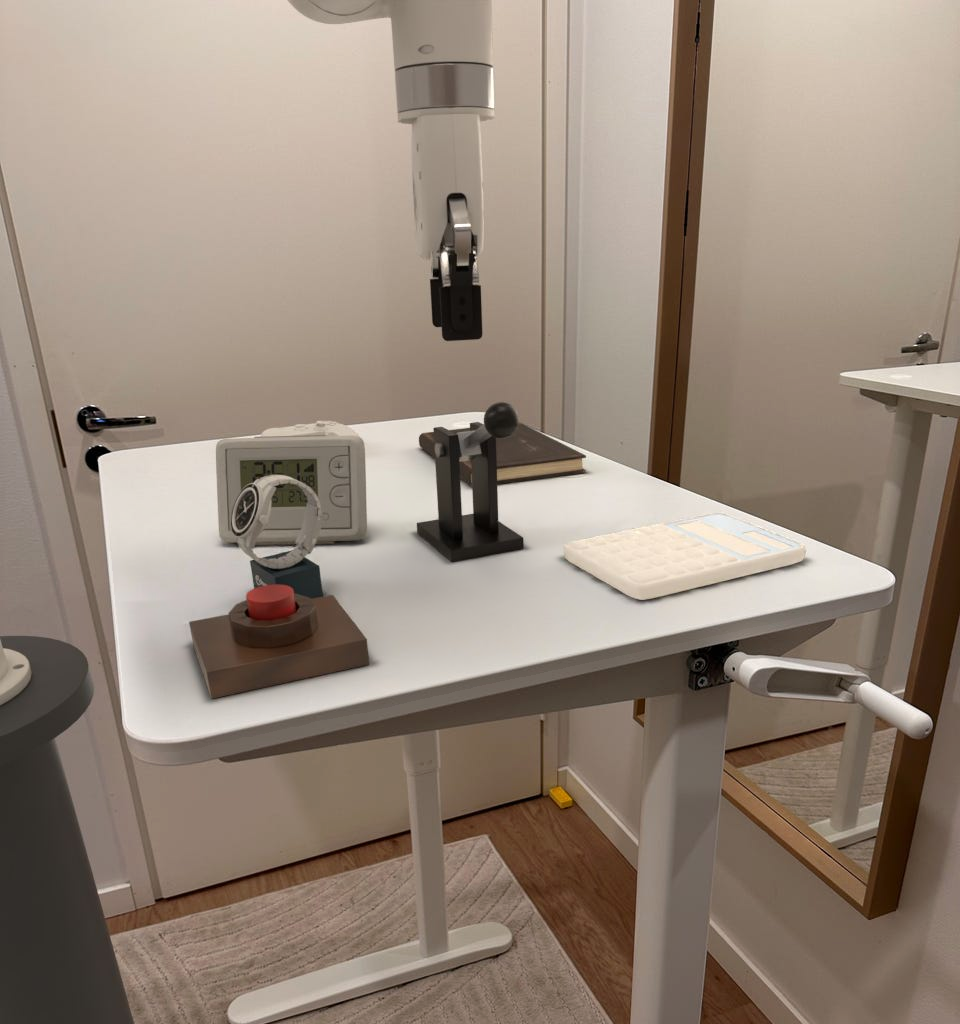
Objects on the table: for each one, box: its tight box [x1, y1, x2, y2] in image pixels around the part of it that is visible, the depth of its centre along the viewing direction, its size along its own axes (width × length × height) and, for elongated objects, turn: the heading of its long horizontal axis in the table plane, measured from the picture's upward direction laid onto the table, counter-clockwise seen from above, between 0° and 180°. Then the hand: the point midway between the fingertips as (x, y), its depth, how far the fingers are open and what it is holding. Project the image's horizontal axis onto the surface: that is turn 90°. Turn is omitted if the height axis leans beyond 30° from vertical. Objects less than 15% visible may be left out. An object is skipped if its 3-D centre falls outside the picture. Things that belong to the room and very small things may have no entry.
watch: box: [231, 475, 324, 599], centre depth 81 cm, size 6×8×11 cm
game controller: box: [260, 420, 360, 437], centre depth 131 cm, size 14×4×10 cm
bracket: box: [416, 421, 525, 562], centre depth 93 cm, size 10×8×12 cm
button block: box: [188, 594, 370, 700], centre depth 71 cm, size 12×10×4 cm
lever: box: [456, 401, 520, 462], centre depth 86 cm, size 13×3×3 cm, turn 23°
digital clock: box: [215, 435, 368, 546], centre depth 96 cm, size 16×9×11 cm, turn 75°
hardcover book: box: [418, 421, 587, 487], centre depth 125 cm, size 16×23×2 cm
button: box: [245, 584, 296, 620], centre depth 70 cm, size 4×4×2 cm
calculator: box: [562, 512, 807, 601], centre depth 87 cm, size 13×20×2 cm, turn 116°
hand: (456, 332), depth 77 cm, fingers open, 9 cm apart
